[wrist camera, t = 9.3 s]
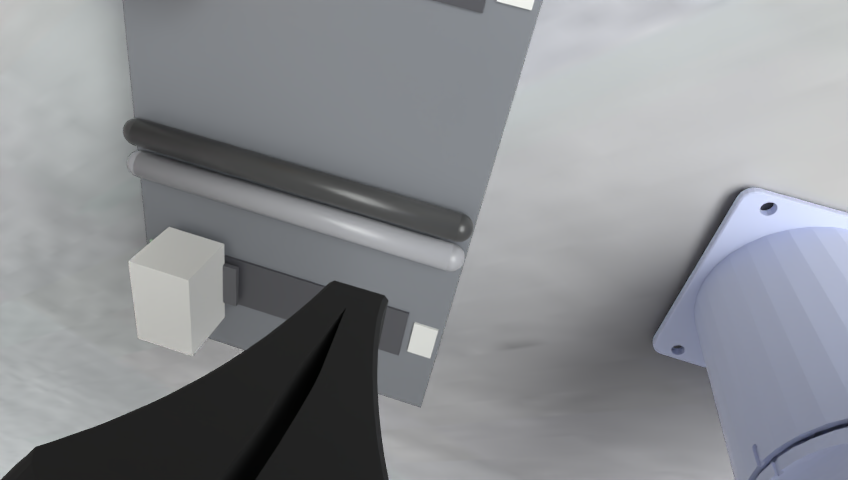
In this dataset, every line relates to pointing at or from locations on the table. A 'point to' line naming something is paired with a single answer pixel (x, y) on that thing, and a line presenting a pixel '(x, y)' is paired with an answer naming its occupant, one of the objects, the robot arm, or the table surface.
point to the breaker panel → (326, 149)
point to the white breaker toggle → (181, 289)
